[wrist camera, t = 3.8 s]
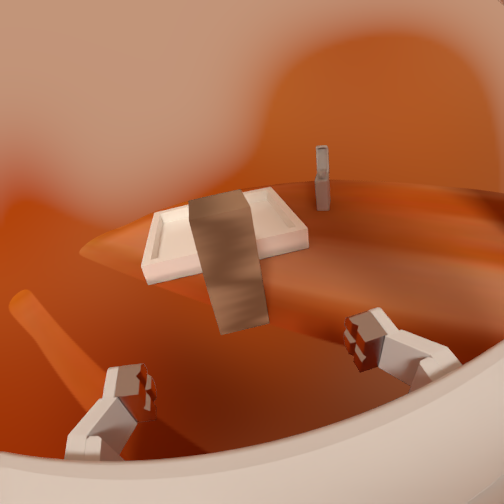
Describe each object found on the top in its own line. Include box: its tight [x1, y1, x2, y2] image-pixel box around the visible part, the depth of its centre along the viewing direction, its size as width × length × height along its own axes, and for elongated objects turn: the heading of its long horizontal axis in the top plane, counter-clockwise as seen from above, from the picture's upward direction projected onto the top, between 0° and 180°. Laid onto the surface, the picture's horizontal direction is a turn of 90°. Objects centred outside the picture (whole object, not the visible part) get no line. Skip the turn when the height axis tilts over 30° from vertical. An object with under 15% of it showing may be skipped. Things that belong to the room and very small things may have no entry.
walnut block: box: [188, 189, 269, 335], centre depth 24 cm, size 4×4×10 cm
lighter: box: [315, 145, 330, 211], centre depth 43 cm, size 7×2×8 cm, turn 164°
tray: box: [141, 187, 309, 285], centre depth 39 cm, size 18×16×2 cm
